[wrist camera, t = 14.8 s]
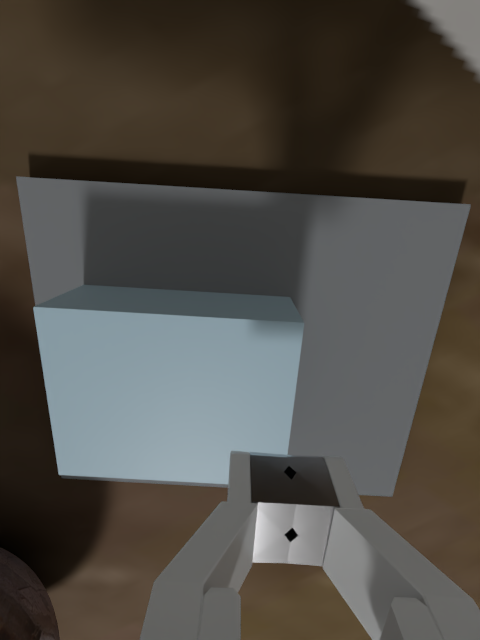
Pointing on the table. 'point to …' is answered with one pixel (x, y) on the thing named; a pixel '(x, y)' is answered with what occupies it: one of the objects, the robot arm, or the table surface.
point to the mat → (276, 289)
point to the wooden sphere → (24, 603)
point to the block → (167, 380)
